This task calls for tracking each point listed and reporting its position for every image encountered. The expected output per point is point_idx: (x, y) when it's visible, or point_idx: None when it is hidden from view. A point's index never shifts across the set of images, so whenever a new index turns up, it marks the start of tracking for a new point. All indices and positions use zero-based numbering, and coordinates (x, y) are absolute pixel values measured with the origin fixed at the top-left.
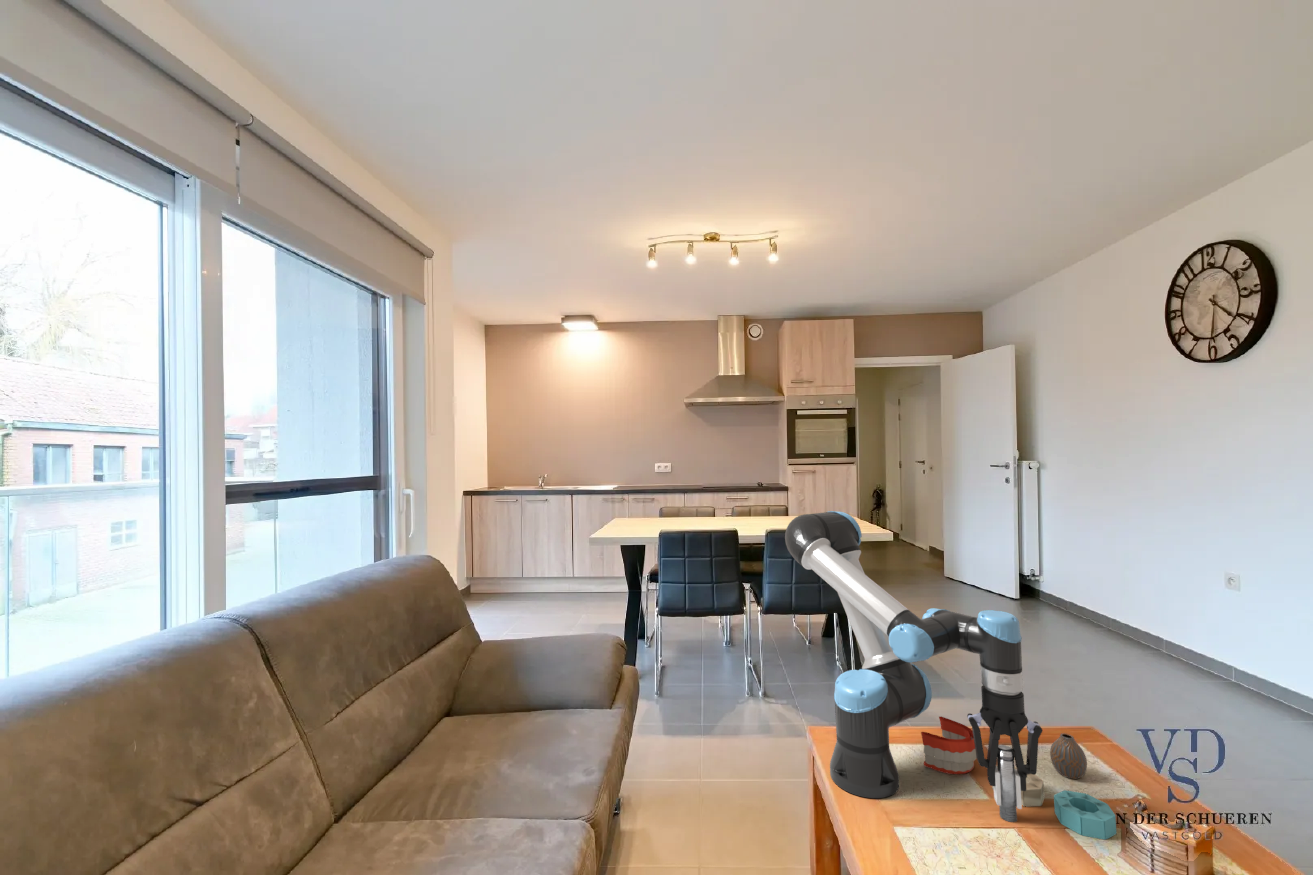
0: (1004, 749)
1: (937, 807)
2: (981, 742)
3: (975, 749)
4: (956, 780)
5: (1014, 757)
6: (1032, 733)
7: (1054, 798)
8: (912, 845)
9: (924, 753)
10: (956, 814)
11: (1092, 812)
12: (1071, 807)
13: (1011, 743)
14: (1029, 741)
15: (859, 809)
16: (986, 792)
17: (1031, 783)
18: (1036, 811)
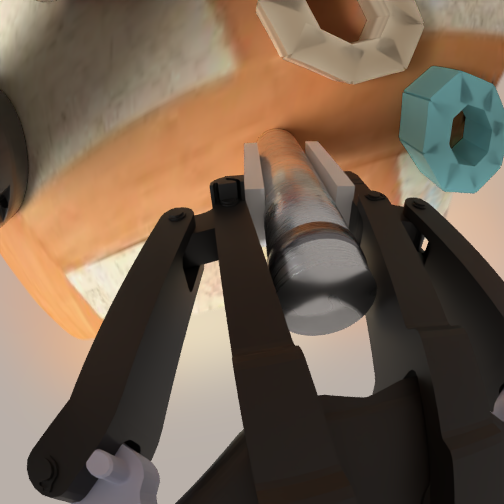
0: (318, 312)
1: (105, 181)
2: (173, 366)
3: (144, 250)
4: (146, 14)
5: (369, 230)
6: (493, 406)
7: (424, 103)
8: (103, 304)
9: (42, 1)
10: (147, 190)
11: (473, 115)
12: (444, 153)
13: (391, 292)
14: (477, 338)
15: (16, 252)
16: (233, 38)
17: (387, 41)
18: (360, 96)
